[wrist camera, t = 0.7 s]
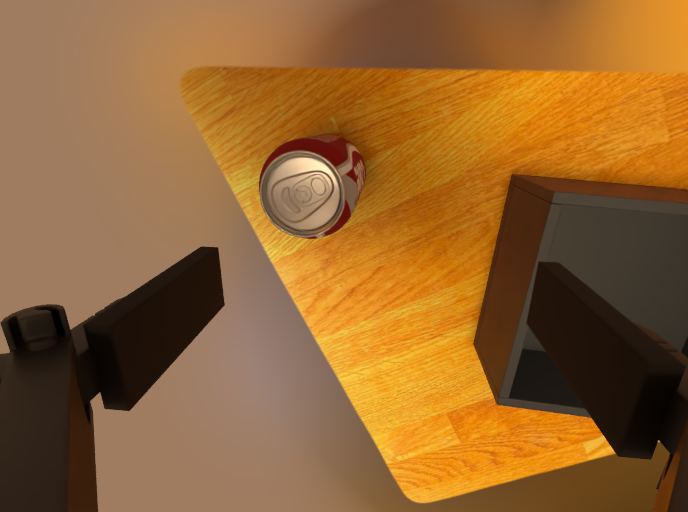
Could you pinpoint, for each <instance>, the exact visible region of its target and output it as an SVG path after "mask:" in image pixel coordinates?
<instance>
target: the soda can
mask: <svg viewBox="0 0 688 512" xmlns="http://www.w3.org/2000/svg"><path fill="white" fill-rule="evenodd" d="M365 177H366V169H365V164H364V160H363V158H362V156H361V154H360V152H359V151H358V149H357V148H356V147H355V146H354V145H353V144H352V143H351V142H350V141H348V140H347V139H345V138H343V137H340V136H337V135H330V134H326V135H319V136H313V137H307V138H301V139H296V140H292V141H289V142H287V143H285V144H283V145H281V146H280V147H278V148H277V149H276V150H275V151H274V152H273V153H272V154H271V155H270V156H269V157H268V159H267V160H266V162H265V164H264V166H263V168H262V171H261V174H260V180H259V192H260V200H261V204H262V207H263V210H264V212H265V214H266V215H267V217H268V218H269V220H270V221H271V222H272V223H273V224H274V225H275V226H276V227H277V228H279V229H280V230H281V231H283V232H285V233H287V234H289V235H292V236H296V237H300V238H307V239H315V238H321V237H325V236H328V235H330V234H332V233H334V232H336V231H337V230H339V229H340V228H341V227H342V226H343V225H344V224H345V223H346V222H347V221H348V220H349V218H350V217H351V215H352V213H353V211H354V209H355V206H356V204H357V201H358V199H359V196H360V194H361V191H362V189H363V186H364V183H365Z"/></svg>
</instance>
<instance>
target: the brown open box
mask: <svg viewBox="0 0 688 512" xmlns="http://www.w3.org/2000/svg"><path fill="white" fill-rule="evenodd" d="M538 261H539V262H559V263H560V264H562V265H563V266H564V267H565V268H566V269H568V270H569V271H570V272H571V273H573V274H574V275H575V276H576V277H577V278H579V279H580V280H581V281H582V282H584V283H585V284H586V285H587V286H588V287H590V288H591V289H592V290H593V291H595V292H596V293H597V294H598V295H600V296H601V297H602V298H603V299H604V300H606V301H607V302H608V303H609V304H611V305H612V306H613V307H614V308H615V309H617V310H618V311H619V312H620V313H622V314H623V315H624V316H625V317H626V318H628V319H629V320H630V321H631V322H633V323H638V324H640V325H642V326H644V327H646V328H648V329H650V330H652V331H654V332H655V333H657V334H658V335H659V336H660V337H662V338H663V339H664V340H666V341H667V342H668V344H671V345H672V346H673V347H674V348H676V349H677V350H678V352H679V353H682V354H683V355H685V356H686V357H687V358H688V190H686V189H675V188H663V187H652V186H641V185H629V184H618V183H607V182H596V181H584V180H573V179H562V178H550V177H539V176H528V175H517V174H512V177H511V182H510V186H509V191H508V195H507V199H506V204H505V208H504V213H503V217H502V221H501V226H500V230H499V235H498V239H497V243H496V248H495V252H494V257H493V261H492V265H491V270H490V274H489V279H488V283H487V287H486V292H485V296H484V301H483V305H482V309H481V314H480V318H479V323H478V327H477V331H476V336H475V340H474V346H475V349H476V351H477V354H478V357H479V359H480V362H481V364H482V367H483V370H484V372H485V375H486V377H487V380H488V383H489V385H490V388H491V390H492V393H493V395H494V398H495V401H496V403H497V405H503V406H511V407H518V408H525V409H532V410H540V411H547V412H554V413H562V414H569V415H576V416H584V417H591V416H590V415H589V413H588V412H587V411H586V409H585V408H584V406H583V405H582V403H581V402H580V400H579V399H578V397H577V396H576V395H575V393H574V392H573V390H572V389H571V387H570V386H569V384H568V383H567V382H566V380H565V379H564V377H563V376H562V374H561V373H560V371H559V370H558V368H557V367H556V366H555V364H554V363H553V361H552V360H551V358H550V357H549V355H548V354H547V352H546V351H545V350H544V348H543V347H542V345H541V344H540V342H539V341H538V339H537V338H536V337H535V335H534V334H533V332H532V331H531V329H530V328H529V326H528V325H527V323H526V322H527V317H528V312H529V307H530V302H531V297H532V292H533V287H534V281H535V276H536V271H537V266H538Z"/></svg>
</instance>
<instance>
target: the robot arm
mask: <svg viewBox="0 0 688 512" xmlns="http://www.w3.org/2000/svg"><path fill="white" fill-rule="evenodd" d="M218 252H219V251H218V247H200V248H198V249H197V250H195V251H194V252H192V253H191V254H189V255H188V256H186V257H185V258H183V259H182V260H180V261H179V262H177V263H176V264H174V265H173V266H171V267H170V268H168V269H167V270H165V271H164V272H162V273H161V274H159V275H158V276H156V277H154V278H153V279H152V280H150V281H148V282H147V283H145V284H144V285H143V286H141V287H140V288H138V289H136V290H135V291H134V292H132V293H130V294H129V295H127V296H126V297H123V298H121V299H118V300H116V301H114V302H113V303H111V304H110V305H108V306H107V307H105V308H104V309H102V310H101V311H99V312H97V313H96V314H95V316H91V317H90V318H88V319H87V320H85V321H84V322H82V323H80V324H79V325H77V326H76V327H74V328H73V329H71V330H70V327H69V324H68V320H67V316H66V313H65V309H64V308H63V306H60V305H48V304H47V305H40V306H35V307H30V308H27V309H23V310H20V311H18V312H15V313H13V314H11V315H9V316H8V317H6V318H4V319H3V321H2V322H1V326H2V329H3V332H4V335H5V337H6V340H7V343H8V346H9V349H10V353H6V354H0V512H98V504H97V484H96V464H95V445H94V425H93V410H92V407H91V403H90V401H91V400H92V399H93V398H94V397H95V396H96V395H97V394H98V393H99V392H100V393H101V396H102V400H103V404H104V408H105V409H114V410H125V411H130V410H131V409H132V408H133V406H134V405H135V404H136V403H137V402H138V401H139V400H140V399H141V398H142V396H143V395H144V394H145V393H146V392H147V391H148V390H149V389H150V388H151V386H152V385H153V384H154V383H155V382H156V381H157V380H158V379H159V377H160V376H161V375H162V374H163V373H164V372H165V371H166V370H167V369H168V368H169V366H170V365H171V364H172V363H173V362H174V361H175V360H176V359H177V357H178V356H179V355H180V354H181V353H182V352H183V351H184V349H186V347H187V346H188V345H189V344H190V343H191V342H192V341H193V339H194V338H195V337H196V336H197V335H198V334H199V333H200V332H201V331H202V330H203V328H204V327H205V326H206V325H207V324H208V323H209V322H210V321H211V320H212V318H213V317H214V316H215V315H216V314H217V313H218V312H219V311H220V310H221V308H222V307H223V306H224V305H225V304H224V296H223V288H222V278H221V269H220V260H219V253H218ZM526 323H527V325H528V326H529V328H530V329H531V331H532V332H533V334H534V335H535V337H536V338H537V339H538V341H539V342H540V344H541V345H542V347H543V348H544V350H545V351H546V352H547V354H548V355H549V357H550V358H551V360H552V361H553V363H554V364H555V366H556V367H557V368H558V370H559V371H560V373H561V374H562V376H563V377H564V379H565V380H566V382H567V383H568V384H569V386H570V387H571V389H572V390H573V392H574V393H575V395H576V396H577V397H578V399H579V400H580V402H581V403H582V405H583V406H584V408H585V409H586V411H587V412H588V413H589V415H590V416H591V418H592V419H593V421H594V422H595V424H596V425H597V426H598V428H599V429H600V431H601V432H602V434H603V435H604V437H605V438H606V440H607V441H608V442H609V444H610V445H611V447H612V448H613V450H614V451H615V453H616V454H617V455H618V456H619V457H630V458H640V459H641V458H642V459H651V458H652V456H653V453H654V450H655V448H656V445H657V442H658V440H659V441H660V442H661V443H662V444H663V445H664V447H665V448H666V449H667V450H668V451H669V452H670V455H669V458H668V460H667V463H666V465H665V468H664V470H663V473H662V475H661V478H660V480H659V483H658V486H657V488H656V489H658V494H657V497H656V501H655V505H654V508H653V512H688V358H687V357H686V356H685V355H683V354H682V353H679V352H678V350H677V349H676V348H674V347H673V346H672V345H671V344H668V342H667V341H666V340H664V339H663V338H662V337H660V336H659V335H658V334H657V333H655V332H654V331H652V330H650V329H648V328H646V327H644V326H642V325H640V324H638V323H633V322H631V321H630V320H629V319H628V318H626V317H625V316H624V315H623V314H622V313H620V312H619V311H618V310H617V309H615V308H614V307H613V306H612V305H611V304H609V303H608V302H607V301H606V300H604V299H603V298H602V297H601V296H600V295H598V294H597V293H596V292H595V291H593V290H592V289H591V288H590V287H588V286H587V285H586V284H585V283H584V282H582V281H581V280H580V279H579V278H577V277H576V276H575V275H574V274H573V273H571V272H570V271H569V270H568V269H566V268H565V267H564V266H563V265H562V264H560V263H559V262H539V261H538V266H537V271H536V276H535V281H534V287H533V292H532V297H531V302H530V307H529V312H528V317H527V322H526Z"/></svg>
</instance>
